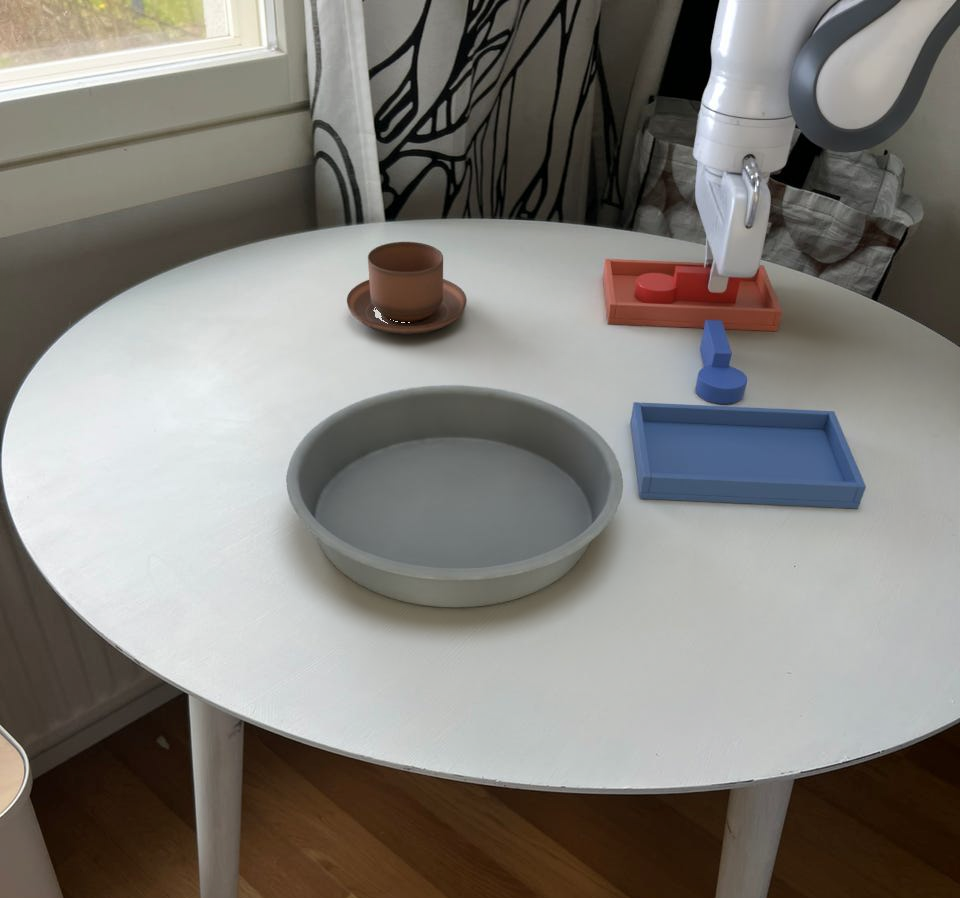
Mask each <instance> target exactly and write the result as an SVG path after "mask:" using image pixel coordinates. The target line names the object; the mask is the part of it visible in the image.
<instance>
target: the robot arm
mask: <svg viewBox="0 0 960 898" xmlns="http://www.w3.org/2000/svg"><path fill="white" fill-rule="evenodd" d="M713 27H714V28H713V33H712V38H711V44H710V57H711V69H710V73H709V78H708V82H707V84H706V86H705V88H704V91H703V93H702V95H701V96H702V97H701V102H700V109H699V112H698V114H697V120H696V127H695V128H696V129H695V130H696V132H695V137H694V144H693V150H692V157H693V158H694V159H695V160H696V161H697V164H696V173H695V174H696V175H695V184H694V185H695V187H694V189H695V190H694V199H695V205H696V207H697V211H698V213H699V214H698V215H699V217H700V220H701V223H702V226H703V229H704V233H705V235H706V237H705V259H704V263H705V264H704V267H709V268H711V270H709V275H708V280H707V284H708V289H709V291H710V292H712V293H723V292H724V291H725V290H726V288H727V283H728V279H729V277H737V278H751V277H753V276H754V275H755V274H756V272H757V270H758V268H759V265H761V261H762V256H763V250H764V246H765V241H766V235H767V230H768V225H769V219H770V213H771V202H772V201H771V200H772V199H771V197H772V196H771V191H770V189H769V187H768V185H767V183H769V182H770V176H771V173H774V172H777V171H780V170H781V169H783V168H784V167H786V165H787V162H788V159H789V153H790V149H791V145H792V140H793V137H794V133H795V128H796V126H797V128H798V129H799V130H800V132H801V133H802V134H803V135H804V137H805V138H807V139H808V141H810V142H811V143H813V144H815V145H816V146H818V147H819V148H822V149H824V150H828V151H831V152H835V153H842V154H843V153H845V154H847V153H857V152H862V151H866V150H870V149H871V148H874V147H876V146H878V145H880V144H882V143H884V142H885V141H887V140H889V139H890V138H891V137H892V136H894V135H895V134H896V133H898V132H899V130H900V129H902V127H904V126H905V124H906V123H907V122H908V120H909V119H910V118H911V116H912V115H913V113H914V112H915V110H916V108H917V106H918V105H919V102H920V100H921V98H922V96H923V94H924V91H925V89H926V86H927V83H928V82H929V79H930V76H931V74H932V71H933V69H934V67H935V64H936V63H937V61H938V58H939V57H940V54H941V53H942V51H943V49H944V48H945V47H946V45H947V43H948V42H949V40H950V39H951V38H952V37H953V35H954V34H955V33H956V31H958V29H959V27H960V0H719V2H718V6H717V11H716V16H715V21H714V26H713Z"/></svg>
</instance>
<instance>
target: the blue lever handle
mask: <svg viewBox="0 0 960 898" xmlns="http://www.w3.org/2000/svg"><path fill="white" fill-rule="evenodd" d="M699 350H700V354H701V358H702V362H703V365H704V366H703V367H702V368H700V369H699V371H698V373H697V377H696V382H695V388H694V389H695V393H696V394H697V396H698V397H700V398H701V399H702V400H704V401H707V402H709V403H712V404H717V405H718V404H719V405H731V404H736V403H738V402H739V401H741V400H742V399H743V398H744V395H745V392H746V388H747V382H748V376H747V375H746V374H745V373H744V372H743V371H742V370H741V369H739V368H737V367H735V366H730V364H731V360H732V355H733V353H732V349H731V346H730V343H729V339H728V336H727V333H726V329H724V326H723V323H722V321H719V320H706V321H705V326H704V328H703V331H702V336H701V341H700V346H699Z"/></svg>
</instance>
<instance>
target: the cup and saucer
mask: <svg viewBox="0 0 960 898" xmlns="http://www.w3.org/2000/svg"><path fill="white" fill-rule="evenodd" d="M367 267H368V279H366V280H364V281H362V282H360V283H358V284H356V285H355V286H354V287H353V288H351V290H350V291H349V292H348V293H347V297H346V304H347V308H348V310H349V312H350V314H351V315H352V316H353V317H354V318H355V319H356V320H358V321H359V322H361V323H362V324H364V325H365V326H367V327H370V328H372V329H375V330H378V331H381V332H386V333H392V334H405V335H407V334H409V335H410V334H411V335H412V334H421V333H427V332H432V331H436V330H439V329H441V328H444V327H446V326H448V325H450V324H452V323H453V322H454V321H456V320H457V319H459V317H460V316H461V315H463V313H464V312H465V310H466V306H467V300H468V299H467V294H466V293H465V292H464V290H463V289H462V288H461V287H460V286H459V285H457V284H455V283H454V282H452V281H449V280H448V279H444V255H443V252H441V251H440V249H438V248H437V247H434V246H432V245H430V244H426V243H423V242H417V241H416V242H415V241H395V242H389V243H385V244H381V245H378V246H377V247H375V248H373V249H372V250H370V251H369V253H368V255H367ZM375 307H376V308H375ZM374 308H375V310H376V309H377V310H378V311H379V312H380V313H381V316H382V317H381V318H382V320H384V321H385V322H387V323H388V324H387V323H385V322H383V321H381V320H380V319H379V318H376V317H375V312H374V311H373V310H374ZM390 319H391V320H390ZM393 320H394V321H393ZM395 321H398V322H395ZM401 322H405V323H401ZM408 322H410V323H408Z"/></svg>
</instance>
